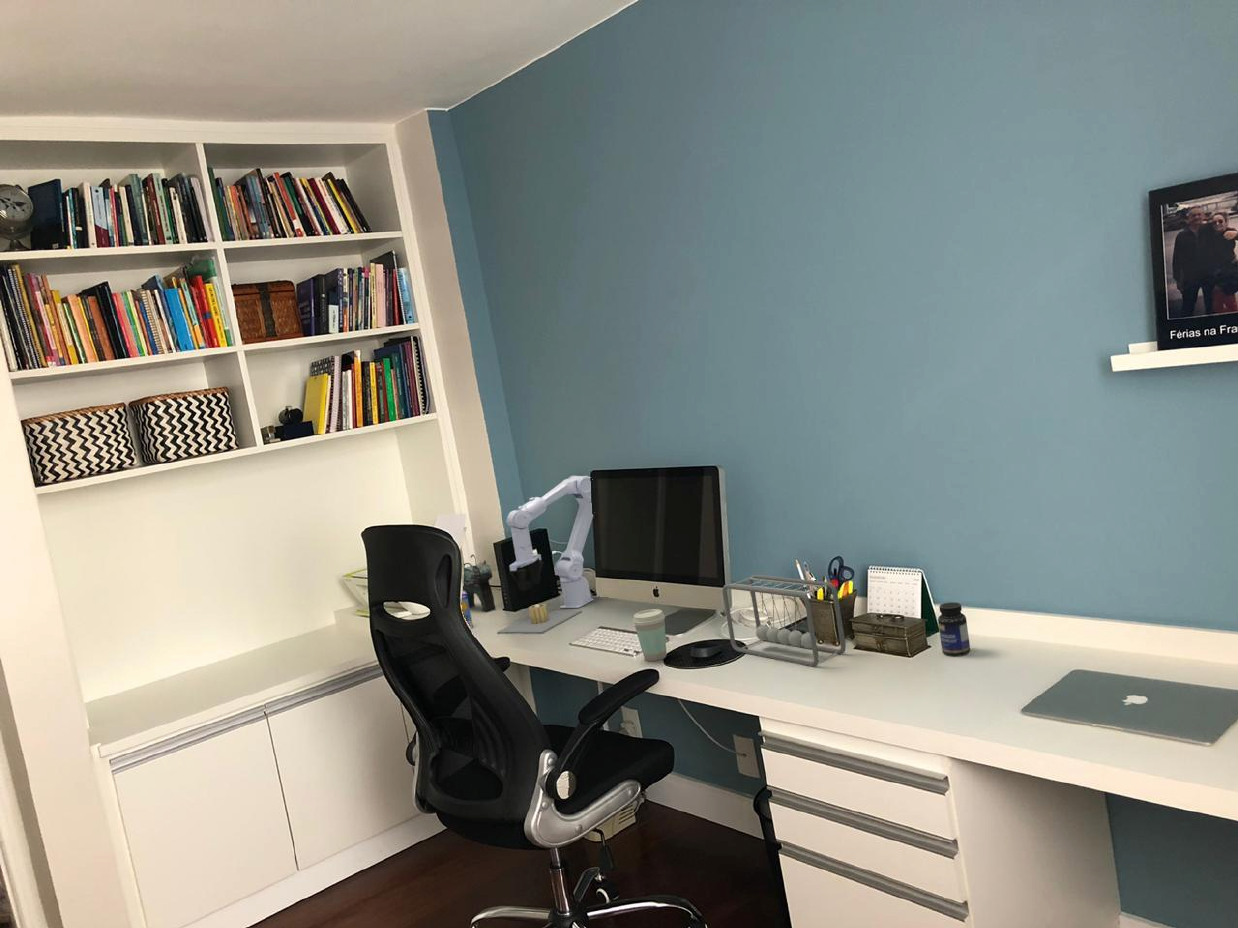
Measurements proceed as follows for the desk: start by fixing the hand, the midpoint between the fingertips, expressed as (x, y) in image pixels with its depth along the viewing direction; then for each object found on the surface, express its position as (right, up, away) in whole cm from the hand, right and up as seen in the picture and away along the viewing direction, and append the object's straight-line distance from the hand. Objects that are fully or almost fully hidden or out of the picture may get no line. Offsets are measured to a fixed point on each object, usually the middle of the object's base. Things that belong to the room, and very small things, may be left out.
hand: (529, 586), depth 327 cm
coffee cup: (+39, -11, -66) cm, 77 cm away
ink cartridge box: (-24, -15, +3) cm, 28 cm away
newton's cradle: (+71, -7, -81) cm, 108 cm away
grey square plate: (+4, -11, -7) cm, 13 cm away
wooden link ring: (+4, -10, -7) cm, 13 cm away
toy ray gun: (-21, -12, +29) cm, 37 cm away
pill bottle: (+106, -2, -102) cm, 147 cm away
